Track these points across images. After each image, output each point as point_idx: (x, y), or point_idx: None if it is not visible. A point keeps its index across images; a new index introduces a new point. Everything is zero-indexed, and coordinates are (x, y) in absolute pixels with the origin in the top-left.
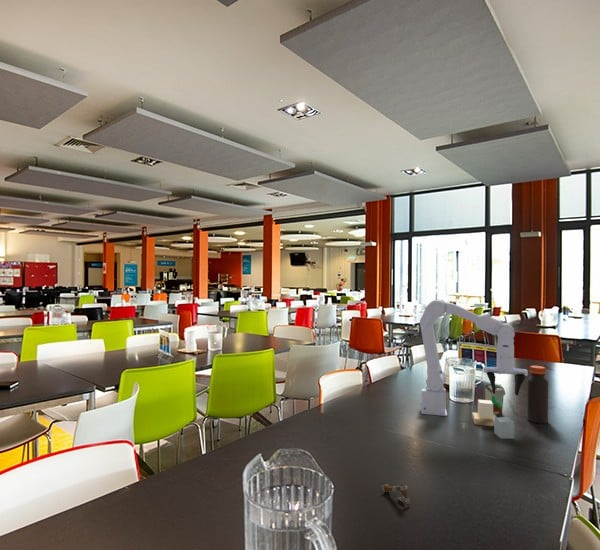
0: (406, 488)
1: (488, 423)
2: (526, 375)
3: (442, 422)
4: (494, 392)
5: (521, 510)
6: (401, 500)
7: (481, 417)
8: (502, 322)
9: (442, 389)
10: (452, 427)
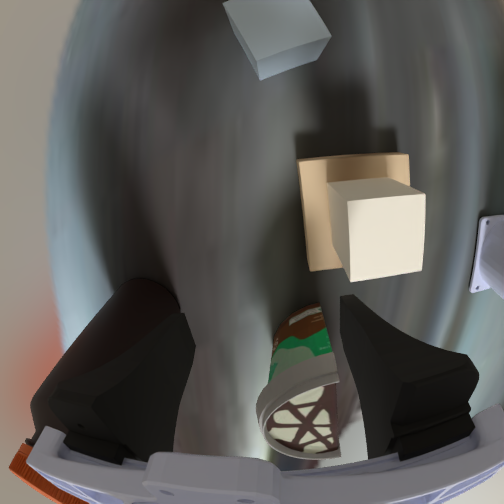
0: None
1: (344, 156)
2: (50, 428)
3: (492, 138)
4: (347, 297)
5: None
6: None
7: (380, 178)
8: None
9: None
10: (464, 88)
